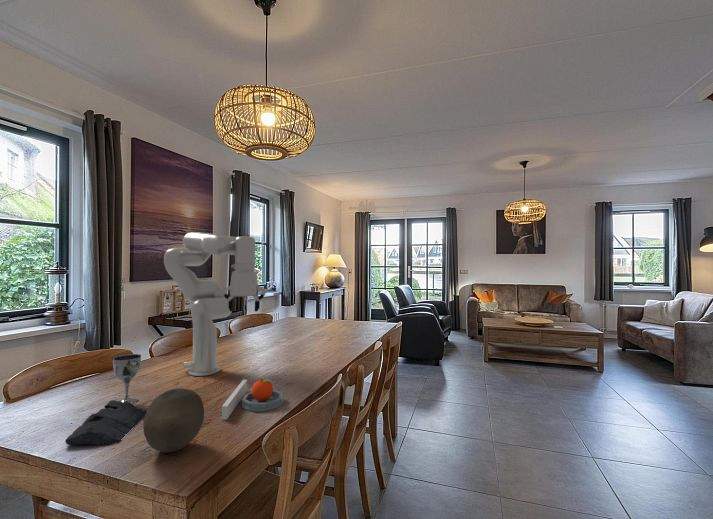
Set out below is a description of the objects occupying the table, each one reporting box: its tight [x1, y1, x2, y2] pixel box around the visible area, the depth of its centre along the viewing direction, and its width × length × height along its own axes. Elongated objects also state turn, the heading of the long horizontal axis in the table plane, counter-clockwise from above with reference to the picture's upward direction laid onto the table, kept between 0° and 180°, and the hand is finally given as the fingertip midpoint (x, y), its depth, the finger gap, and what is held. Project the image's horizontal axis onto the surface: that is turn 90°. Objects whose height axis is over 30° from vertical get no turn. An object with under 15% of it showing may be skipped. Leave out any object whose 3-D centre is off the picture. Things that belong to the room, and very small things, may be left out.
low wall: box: [221, 379, 248, 421], centre depth 117 cm, size 2×24×4 cm, turn 3°
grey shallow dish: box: [241, 389, 284, 413], centre depth 118 cm, size 14×14×2 cm
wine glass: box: [112, 353, 142, 404], centre depth 118 cm, size 8×8×15 cm
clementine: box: [251, 379, 276, 401], centre depth 118 cm, size 8×7×7 cm
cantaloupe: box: [142, 388, 205, 454], centre depth 88 cm, size 14×14×15 cm
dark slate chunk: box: [65, 399, 147, 446], centre depth 99 cm, size 15×22×5 cm
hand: (244, 310), depth 138 cm, fingers open, 9 cm apart
